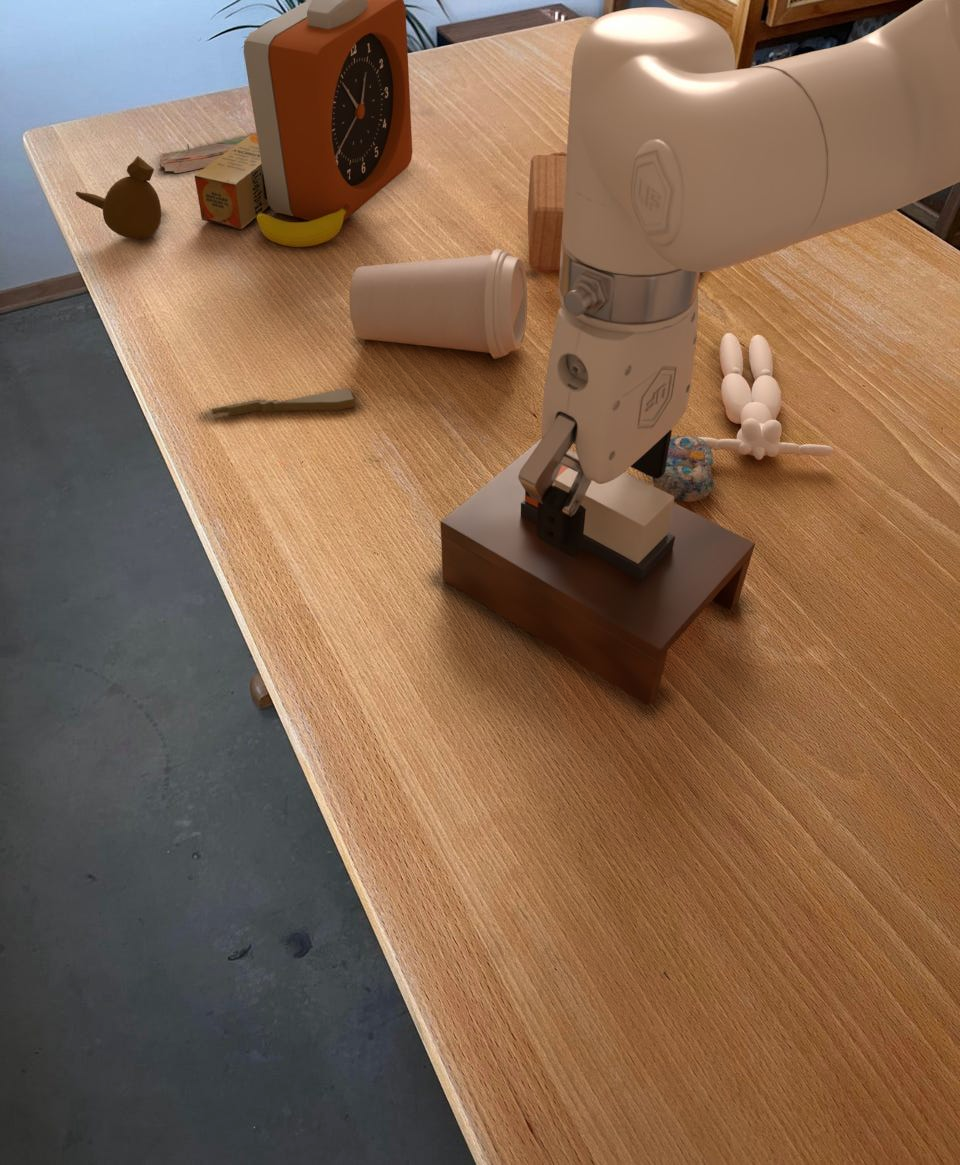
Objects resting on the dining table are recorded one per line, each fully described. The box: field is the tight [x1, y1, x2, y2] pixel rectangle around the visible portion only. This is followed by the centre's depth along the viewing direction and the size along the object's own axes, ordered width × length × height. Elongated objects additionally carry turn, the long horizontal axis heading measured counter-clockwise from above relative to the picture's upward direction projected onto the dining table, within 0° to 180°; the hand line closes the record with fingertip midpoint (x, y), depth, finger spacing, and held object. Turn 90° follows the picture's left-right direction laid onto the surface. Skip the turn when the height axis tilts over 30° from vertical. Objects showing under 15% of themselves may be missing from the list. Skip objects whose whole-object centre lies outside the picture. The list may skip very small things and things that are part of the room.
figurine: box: [75, 155, 162, 240], centre depth 106 cm, size 8×8×6 cm
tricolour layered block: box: [521, 459, 675, 581], centre depth 67 cm, size 10×4×5 cm, turn 51°
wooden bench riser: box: [439, 438, 756, 707], centre depth 71 cm, size 18×12×6 cm, turn 51°
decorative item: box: [527, 151, 567, 271], centre depth 107 cm, size 7×7×20 cm
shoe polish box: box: [194, 133, 270, 230], centre depth 111 cm, size 5×5×12 cm
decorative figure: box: [693, 332, 835, 461], centre depth 87 cm, size 4×12×18 cm
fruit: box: [255, 204, 350, 248], centre depth 106 cm, size 10×2×5 cm
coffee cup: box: [348, 248, 528, 359], centre depth 92 cm, size 10×10×15 cm
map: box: [159, 136, 247, 174], centre depth 122 cm, size 5×20×1 cm, turn 121°
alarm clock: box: [243, 0, 413, 223], centre depth 107 cm, size 18×9×21 cm, turn 154°
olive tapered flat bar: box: [211, 387, 356, 417], centre depth 87 cm, size 12×2×1 cm, turn 100°
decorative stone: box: [651, 434, 715, 503], centre depth 80 cm, size 6×4×5 cm
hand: (602, 505), depth 67 cm, fingers open, 9 cm apart
